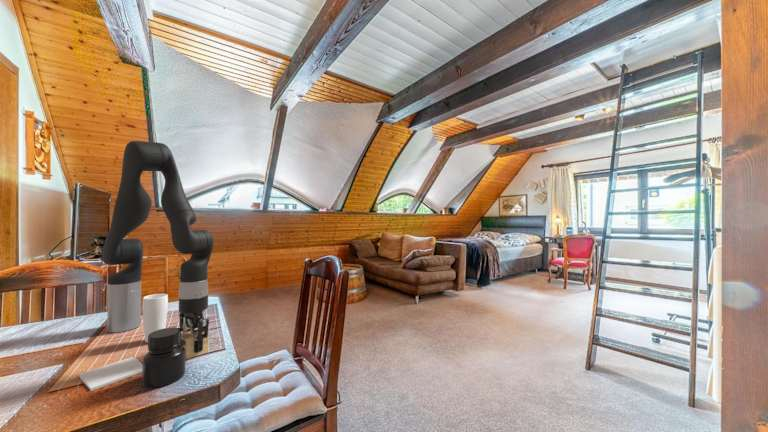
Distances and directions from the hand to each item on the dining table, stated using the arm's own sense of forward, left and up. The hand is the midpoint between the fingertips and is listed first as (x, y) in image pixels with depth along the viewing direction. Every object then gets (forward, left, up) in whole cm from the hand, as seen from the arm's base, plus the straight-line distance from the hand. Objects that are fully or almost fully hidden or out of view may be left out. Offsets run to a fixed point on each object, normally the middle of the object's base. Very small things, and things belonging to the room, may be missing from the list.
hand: (193, 348), depth 87 cm
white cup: (-20, -3, -1) cm, 20 cm away
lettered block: (0, 0, -1) cm, 1 cm away
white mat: (-5, -17, -1) cm, 18 cm away
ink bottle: (+9, -11, -1) cm, 14 cm away
